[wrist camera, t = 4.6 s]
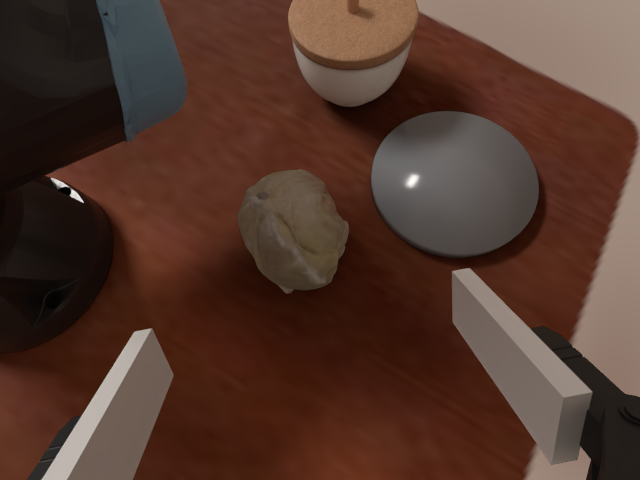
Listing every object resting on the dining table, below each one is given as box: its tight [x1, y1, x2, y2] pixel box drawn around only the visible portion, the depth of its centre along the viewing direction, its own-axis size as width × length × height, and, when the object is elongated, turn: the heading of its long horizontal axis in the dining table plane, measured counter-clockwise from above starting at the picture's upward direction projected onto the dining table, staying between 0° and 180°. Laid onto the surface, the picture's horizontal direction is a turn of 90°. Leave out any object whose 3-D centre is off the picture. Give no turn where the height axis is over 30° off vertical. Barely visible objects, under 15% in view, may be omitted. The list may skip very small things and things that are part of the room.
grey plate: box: [371, 111, 539, 258], centre depth 30 cm, size 14×14×1 cm
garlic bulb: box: [237, 169, 349, 294], centre depth 26 cm, size 9×8×10 cm
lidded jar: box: [288, 0, 418, 107], centre depth 31 cm, size 11×11×9 cm
